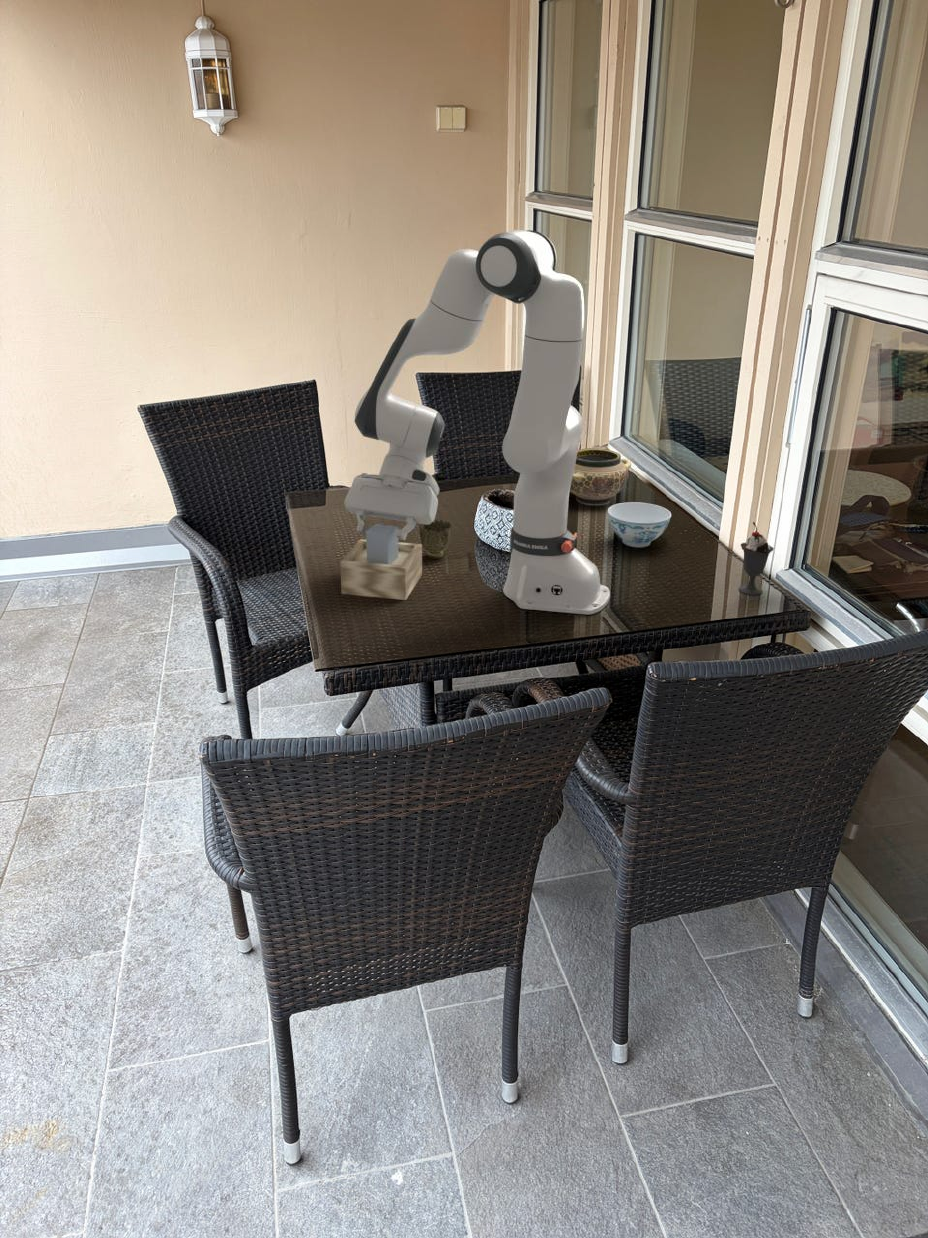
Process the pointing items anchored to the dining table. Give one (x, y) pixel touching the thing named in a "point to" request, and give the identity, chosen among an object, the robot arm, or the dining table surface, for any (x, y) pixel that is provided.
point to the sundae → (754, 560)
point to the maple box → (381, 572)
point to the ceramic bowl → (598, 475)
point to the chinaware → (638, 522)
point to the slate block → (382, 544)
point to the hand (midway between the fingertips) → (380, 535)
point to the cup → (435, 537)
